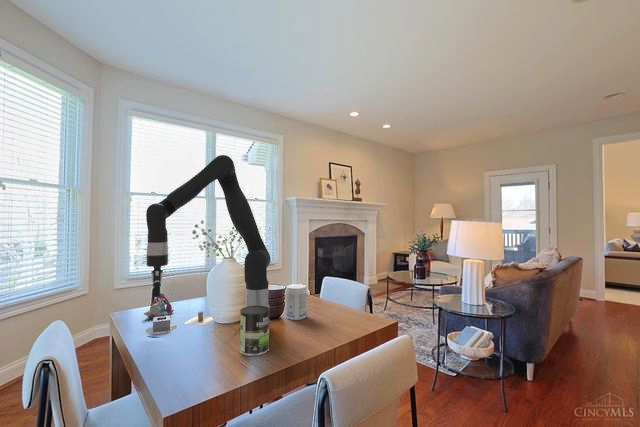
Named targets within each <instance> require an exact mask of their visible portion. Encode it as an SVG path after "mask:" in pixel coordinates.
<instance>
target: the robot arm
mask: <svg viewBox="0 0 640 427" xmlns="http://www.w3.org/2000/svg"><path fill="white" fill-rule="evenodd" d="M236 172H237V171H236V168H235V162H234V161H233V159H232V158H231V157H230V156H229V155H226V154H219V155H217V156H215V157H214V158H213V159H212V160H211V161H209V163H208V164H207V165H206V166H205V167H203V169H201V170H200V171H199V172H197V174H195V175H194V176H192V177H191V178H190V179H189V180H187V181H186V182H184V183H183V184H182V185H180V186H178V187H177V188H175V189H174V190H173V191H171V192H169V193H168V194H167V197H165V198H164V199H162V200H161V201H160V202H157V203H152V204H150V205H149V206H148V207H147V209H146V212H145V213H146V214H145V217H146V219H145V220H146V227H147V244H146V267H153V269H152V270H151V282H152V287H153V288H152V289H153V297H154V298H157V297H160V294H161V286H162V284H161V283H162V281H163V275H164V272H163V270H164V269H162V267H165V266H167V265H168V264H169V245H168V229H167V228H166V227H167V225H166V224H167V219H168V218H169V217H170V216H172V215H173V214H174V213H176V211H178V210H179V209H180V208H183V207H184V206H185V205H187V204H188V203H190V202H191V201H193V199H195V198H196V197H197V196H198V195H199V194H201V192H202V191H203V190H204V189H206V187H207V186H209V185H210V184H212V183H213V182H215V181H218V183H219V185H220V187H221V189H222V192H223V196H224V200H225V205H226V207H227V212H228V215H229V217H230V220H231V223H232V225H233V227H234V228H235V230H236V231H237V233H238V234H239V235H240V237H241V238H242V240H243V241H244V244H245V246H246V249H247V252H248V253H247V254H246V256H245V258H244V266H243V267H244V272H243V273H244V283H245V307H249V306H265V307H268V308H270V306H271V305H270V304H269V280H268V277H267V275H268V274H267V269H268V267H269V266H270V264H271V255H270V252H269V251H268V248H267V247H266V245H265V242H264V240H263V239H262V237H261V233H260V231H259V228H258V225H257V222H256V219H255V217H254V214H253V210H252V209H251V205H250V204H249V202H248V199H247V198H246V195H245V193H244V192H243V191H242V189H241V186H240V183H239V181H238V177H237V174H236Z"/></svg>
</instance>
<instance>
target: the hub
mask: <svg viewBox="0 0 640 427" xmlns="http://www.w3.org/2000/svg"><path fill="white" fill-rule="evenodd" d="M160 320H165V319H160ZM177 327H178V326H177V325H176V324H174V323H170V330H167V331H159V332H153V325H152V326H150V327H148V328H146V329H145V333H147V334H150V335H151V334H152V335H160V334H166V333H170V332H172V331H174V330H176V329H177ZM146 337H147V338H152V339H153V338H154V339H158V338H160V336H159V337H158V336H149V335H147V336H146Z"/></svg>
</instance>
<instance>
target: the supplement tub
mask: <svg viewBox="0 0 640 427" xmlns="http://www.w3.org/2000/svg"><path fill="white" fill-rule="evenodd" d="M285 294H286V295H285V302H286V303H285V304H286V305H285V308H286V309H285V310H286V312H285V316H286V319H288V320H291V321H299V320H301V321H302V320H304V319H305V318H306V317H307V312H308V311H307V306H308V305H307V303H308V302H307V296H308V295H307V285H305V284H300V283H293V284H289V285H287V286H286V289H285Z"/></svg>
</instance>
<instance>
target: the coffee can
mask: <svg viewBox="0 0 640 427" xmlns="http://www.w3.org/2000/svg"><path fill="white" fill-rule="evenodd" d="M239 312H240V325H239V326H240V328H239V329H240V331H239V333H240V334H239V353H240V354H241V355H244V356H247V357H257V356H262V355H264V354H266V353H268V352H269V351H270V316H271V315H270V313H271V309H270V308H268V307H265V306H249V307H246V306H245V307H242V308H241V309H240V311H239ZM267 351H268V352H267ZM261 354H262V355H261Z"/></svg>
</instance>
